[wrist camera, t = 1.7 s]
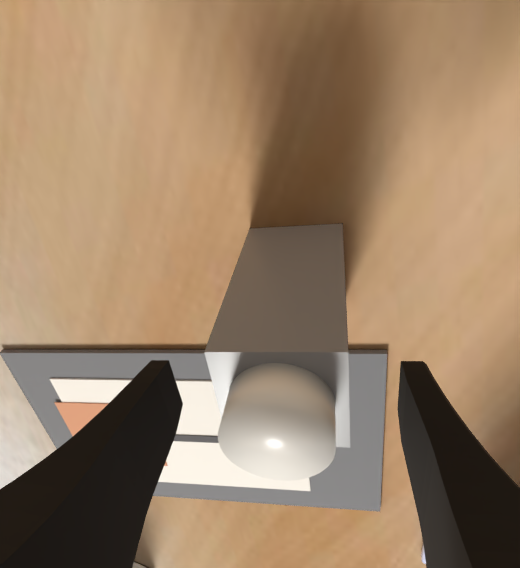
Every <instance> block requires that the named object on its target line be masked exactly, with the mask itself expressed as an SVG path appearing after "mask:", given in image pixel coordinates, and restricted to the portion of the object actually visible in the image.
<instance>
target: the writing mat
mask: <svg viewBox="0 0 520 568" xmlns="http://www.w3.org/2000/svg"><path fill="white" fill-rule="evenodd" d="M204 351H205V350H2V351H1V352H0V355H1V356H2V358H3V360H4V361H5V363H6V365H7V366H8V368H9V370H10V371H11V373H12V375H13V376H14V378H15V380H16V381H17V383H18V385H19V386H20V388H21V390H22V391H23V393H24V395H25V396H26V398H27V400H28V401H29V403H30V405H31V406H32V408H33V410H34V411H35V413H36V415H37V417H38V418H39V420H40V422H41V423H42V425H43V427H44V428H45V430H46V432H47V433H48V435H49V437H50V438H51V440H52V442H53V443H54V445H55V447H56V448H57V449H58V448H59V447H60V446H62V445H63V444H64V443H65V442H67V441H68V440H69V439H70V438H71V437H73V436H74V435H75V434H76V433H77V432H78V431H80V430H81V429H82V428H83V427H84V426H85V425H86V424H87V423H88V422H89V421H91V420H92V419H93V418H94V417H95V416H96V415H97V414H98V413H99V412H100V411H101V410H102V409H104V408H105V407H106V406H107V405H108V404H109V403H110V402H111V401H112V400H113V399H114V398H115V397H116V396H117V395H118V394H119V393H120V392H121V391H122V390H123V389H124V388H125V387H126V386H127V385H128V384H129V382H130V381H131V380H132V379H133V378H134V377H135V376H136V375H137V374H138V373H139V372H140V371H141V370H142V369H143V368H144V367H145V366H146V365H147V364H148V363H149V362H150V361H151V360H169V362H170V365H171V368H172V371H173V375H174V378H175V381H176V384H177V387H178V390H179V393H180V396H181V399H182V402H183V406H182V411H181V415H180V420H179V424H178V428H177V432H176V435H175V438H174V441H173V443H172V446H171V449H170V451H169V454H168V457H167V460H166V462H165V465H164V467H163V470H162V473H161V475H160V478H159V481H158V483H157V486H156V488H155V491H154V494H153V496H164V497H178V498H193V499H207V500H222V501H236V502H251V503H265V504H280V505H294V506H309V507H323V508H338V509H352V510H367V511H380V504H381V482H382V460H383V437H384V415H385V393H386V371H387V350H348V359H349V410H350V448H347V447H336V451H335V456H334V459H333V461H332V462H331V464H330V465H329V466H328V467H327V468H326V469H325V470H323V471H322V472H320V473H319V474H317V475H315V476H312V477H309V478H305V479H300V480H290V481H283V480H273V479H267V478H263V477H259V476H256V475H253V474H251V473H249V472H247V471H245V470H243V469H241V468H239V467H238V466H236V465H235V464H234V463H232V462H231V461H230V460H229V459H228V458H227V457H226V456H225V454H224V453H223V451H222V450H221V448H220V445H219V442H218V431H219V427H220V423H221V415H220V411H219V407H218V403H217V399H216V396H215V392H214V388H213V384H212V380H211V376H210V372H209V368H208V365H207V361H206V357H205V353H204Z"/></svg>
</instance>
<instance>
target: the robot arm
mask: <svg viewBox="0 0 520 568" xmlns="http://www.w3.org/2000/svg"><path fill="white" fill-rule="evenodd" d="M182 406H183V402H182V399H181V396H180V393H179V390H178V387H177V384H176V381H175V378H174V375H173V371H172V368H171V365H170V362H169V360H151V361H150V362H149V363H148V364H147V365H146V366H145V367H144V368H143V369H142V370H141V371H140V372H139V373H138V374H137V375H136V376H135V377H134V378H133V379H132V380H131V381H130V382H129V384H128V385H127V386H126V387H125V388H124V389H123V390H122V391H121V392H120V393H119V394H118V395H117V396H116V397H115V398H114V399H113V400H112V401H111V402H110V403H109V404H108V405H107V406H106V407H105V408H104V409H102V410H101V411H100V412H99V413H98V414H97V415H96V416H95V417H94V418H93V419H92V420H91V421H89V422H88V423H87V424H86V425H85V426H84V427H83V428H82V429H81V430H80V431H78V432H77V433H76V434H75V435H74V436H73V437H71V438H70V439H69V440H68V441H67V442H65V443H64V444H63V445H62V446H60V447H59V448H58V449H57V450H55V451H54V452H53V453H52V454H50V455H49V456H48V457H46V458H45V459H44V460H42V461H41V462H40V463H38V464H37V465H35V466H34V467H32V468H31V469H30V470H28V471H27V472H25V473H24V474H22V475H21V476H20V477H18V478H17V479H15V480H14V481H12V482H11V483H9V484H8V485H6V486H5V487H3V488H2V489H0V568H132V567H133V563H134V559H135V555H136V551H137V547H138V543H139V540H140V536H141V532H142V529H143V525H144V521H145V517H146V514H147V511H148V508H149V505H150V502H151V499H152V496H153V494H154V491H155V488H156V486H157V483H158V481H159V478H160V475H161V473H162V470H163V467H164V465H165V462H166V460H167V457H168V454H169V451H170V449H171V446H172V443H173V441H174V438H175V435H176V432H177V428H178V424H179V420H180V415H181V411H182ZM398 417H399V425H400V434H401V442H402V447H403V451H404V455H405V460H406V464H407V469H408V473H409V477H410V482H411V486H412V490H413V495H414V499H415V503H416V508H417V512H418V516H419V521H420V526H421V532H422V538H423V547H422V553H421V558H422V562H423V563H424V564H426V567H427V568H520V488H519V486H518V485H517V484H516V483H515V482H514V481H513V480H512V479H511V478H510V477H509V476H508V475H507V474H506V473H505V472H504V471H503V469H502V468H501V467H500V466H499V465H498V464H497V463H496V462H495V460H494V459H493V458H492V457H491V456H490V455H489V453H488V452H487V451H486V450H485V449H484V447H483V446H482V445H481V444H480V442H479V441H478V440H477V439H476V438H475V436H474V435H473V434H472V432H471V431H470V430H469V429H468V427H467V426H466V425H465V423H464V422H463V420H462V419H461V418H460V416H459V415H458V414H457V412H456V411H455V409H454V408H453V407H452V405H451V404H450V402H449V401H448V399H447V398H446V396H445V395H444V393H443V392H442V390H441V389H440V387H439V385H438V384H437V382H436V380H435V379H434V377H433V375H432V374H431V372H430V370H429V368H428V366H427V364H425V363H424V362H423V361H401V368H400V383H399V397H398Z"/></svg>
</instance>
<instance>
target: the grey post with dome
mask: <svg viewBox="0 0 520 568" xmlns="http://www.w3.org/2000/svg"><path fill="white" fill-rule="evenodd" d="M204 353H205V357H206V361H207V365H208V368H209V372H210V376H211V380H212V384H213V388H214V392H215V396H216V399H217V403H218V407H219V411H220V415H221V423H220V427H219V431H218V442H219V445H220V448H221V450H222V451H223V453H224V454H225V456H226V457H227V458H228V459H229V460H230V461H231V462H232V463H234V464H235V465H236V466H238V467H239V468H241V469H243V470H245V471H247V472H249V473H251V474H253V475H256V476H259V477H263V478H267V479H273V480H283V481H290V480H300V479H305V478H309V477H312V476H315V475H317V474H319V473H320V472H322V471H323V470H325V469H326V468H327V467H328V466H329V465H330V464H331V462H332V461H333V459H334V456H335V451H336V447H347V448H350V410H349V359H348V333H347V310H346V287H345V265H344V242H343V223H342V224H323V225H304V226H286V227H267V228H250V229H249V232H248V235H247V237H246V240H245V243H244V245H243V248H242V251H241V254H240V256H239V259H238V262H237V264H236V267H235V270H234V273H233V275H232V278H231V281H230V283H229V286H228V289H227V292H226V294H225V297H224V300H223V302H222V305H221V308H220V311H219V313H218V316H217V319H216V322H215V324H214V327H213V330H212V332H211V335H210V338H209V341H208V343H207V346H206V349H205V351H204Z"/></svg>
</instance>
